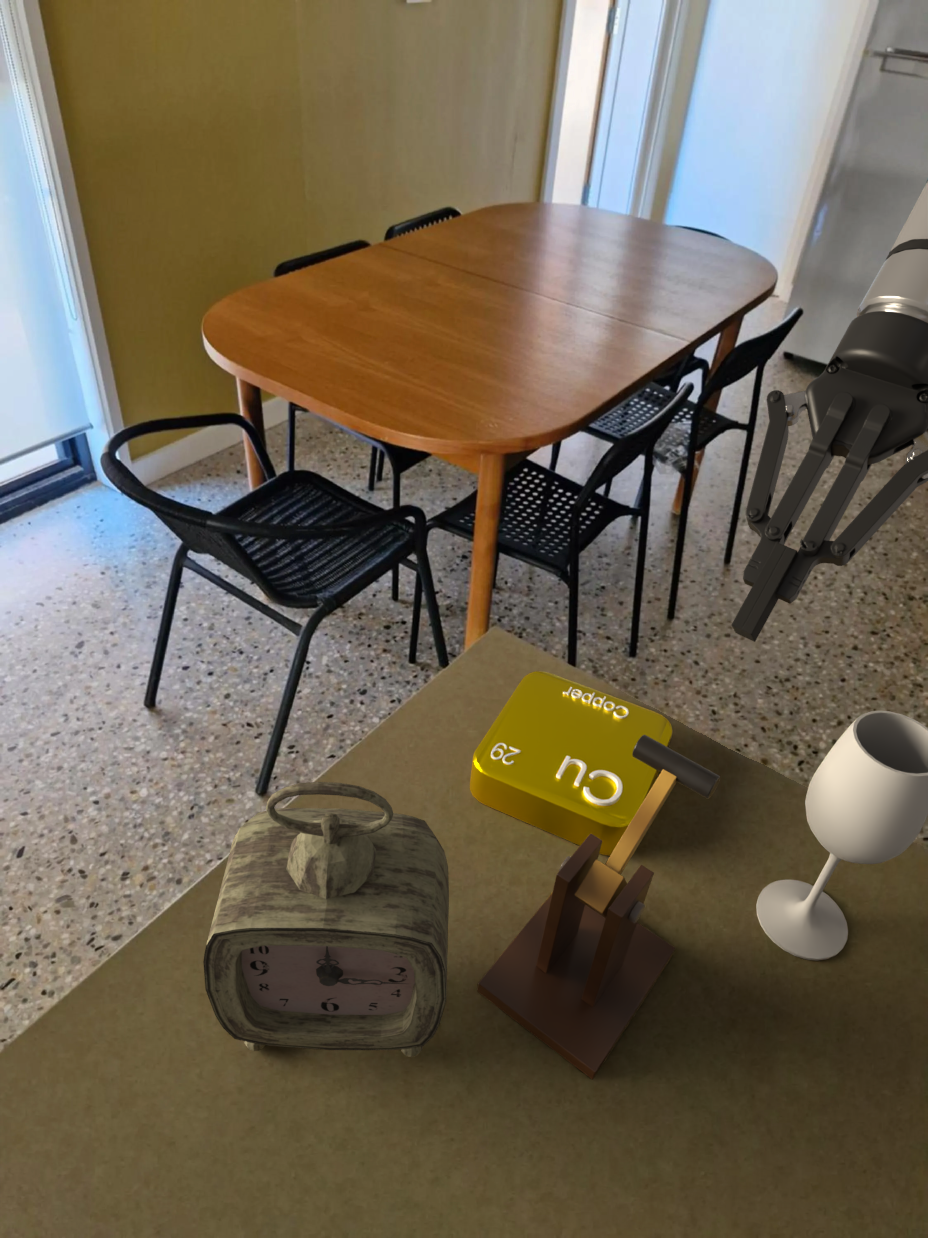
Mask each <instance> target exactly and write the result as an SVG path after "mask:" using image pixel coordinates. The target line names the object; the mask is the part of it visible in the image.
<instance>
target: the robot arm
mask: <svg viewBox="0 0 928 1238" xmlns="http://www.w3.org/2000/svg"><path fill="white" fill-rule="evenodd" d="M766 406H767V414H768V425H767V429H766V432H765V436H764V440H763V444H762V448H761V450H760V451H761V452H760V455H759V459H758V462H757V467H756V471H755V474H754V478H753V481H752V484H751V485H752V486H751V488H750V493H749V496H748V500H747V505H746V509H745V514H744V516H745V518H746V522H747V525H748V528H749V529H750V530H751V531H752V532H755V534H757V535H758V536H759V538H760V540H759V542H758V544H757V546H756V548H755V549H754V551H753V553H752V555H751V557H750V559H749V561H748V562H747V565H746V566H745V568H744V570H743V572H742V573H743V574H742V580H743V583H744V584H745V585H747V586H749V587H751V588H750V590H749V592H748V594H747V596H746V597H745V599H744V600H743V603H742V605H741V606H740V608H739V610H738V611H737V614H736V616H735V617H734V619H733V621H732V623H731V627H732V629H733V631H734V632H735V634H737V635H739V636H741V637H743V638H746V639H747V640H750V641H751V642H754V643H755V642H756V641H757V639H758V637H759V636H760V634H761V632H762V630H763V628H764V626H765V624H766V623H767V621H768V620H769V617H770V615H771V614H772V612H773V611H774V608H775V606H776V605H777V603H778V601H779V600H780V601H783V602H785V603H787V604H792V603H793V602H794V601H795V600H797V598H798V597H799V595H800V593H801V592H802V589H803V588H804V586H805V584H806V582H807V581H808V578H809V577H810V575H811V574H812V572H813V569H814V568H815V567H816V566H817V565H820V564H821V565H822V564H831V565H832V564H833V565H835V566H837V567H843V566H846V565H847V564H848V563H849V562H850V561H851V560H852V559H854V557H855V556H856V554H857V553H859V551H860V550H861V549H862V548H863V547H864V546H865V545H866V544H867V543H868V542H869V540H870V539H871V538H872V537H873V536H874V535H875V534H876V533H877V532H878V531H879V529H881V527H882V526H883V525H884V524H885V523H886V522H887V521H888V519H890V517H891V516H893V514H894V513H895V512H896V511H897V509H899V508H900V507H901V506H902V504H904V502H905V501H906V500H907V499H908V498H909V497H910V495H911V494H913V493H914V491H916V489H917V488H918V487H920V486H922V485H924V484H925V483H927V482H928V178H927V179H926V182H925V185H924V187H923V189H922V190H921V192H920V195H919V196H918V198H917V199H916V202H915V204H914V205H913V208H912V210H911V212H910V213H909V215H908V217H907V219H906V221H905V222H904V224H903V226H902V228H901V230H900V232H899V234H898V236H897V238H896V239H895V242H894V243H893V245H892V246H891V249H890V251H889V253H888V255H887V256H886V258H885V260H884V261H883V264H882V266H881V267H880V269H879V271H878V272H877V274H876V276H875V278H874V279H873V281H872V283H871V284H870V287H869V288H868V290H867V292H866V293H865V295H864V297H863V299H862V301H861V302H860V304H859V306H858V307H857V311H856V317H855V318H854V319H853V320H851V322H850V323H849V325H848V326H847V328H846V330H845V332H844V334H843V336H842V337H841V339H840V341H839V343H838V345H837V346H836V348H835V350H834V352H833V354H832V356H831V357H830V359H829V361H828V363H827V364H826V367H825V368H824V370H823V371H822V372H821V374H820V375H819V376H817V377H816V378H815V379H813V380H811V382H809V383H808V385H807V386H806V388H805V390H802V391H797V392H792V393H786V394H784V392H782V390H778V389H774V390H771V391H770V392H769V393H768V394H767V396H766ZM805 410H806V411H807V417H808V422H809V427H810V431H811V437H812V439H811V441H810V444H809V447H808V450H807V452H806V454H805V455H804V457H803V459H802V461H801V463H800V464H799V466H798V468H797V470H796V472H795V474H794V475H793V477H792V479H791V480H790V483H789V485H788V486H787V488H786V490H785V492H784V493H783V496H782V497H781V499H780V501H779V502H778V505H777V507H776V508H775V510H774V512H773V514H772V515H771V517H770V516H769V514H770V510H771V507H772V502H773V499H774V494H775V491H776V487H777V483H778V480H779V475H780V472H781V468H782V464H783V460H784V456H785V453H786V448H787V445H788V440H789V434H790V433H789V432H790V431H789V427H793V426H795V425H796V424H797V423H798V422H799V420H800V415H801V413H802V412H803V411H805ZM909 447H912V448H911V449H910V450H909V451H908V452H907V454H906V459H905V464H903V465H902V466H901V467H900V468H899V469H898V471H897V472H895V474H894V475H893V476H892V477H891V478H890V479H889V480H888V481H887V483H886V484H885V485H883V487H882V488H881V489H880V490H879V491H878V492H877V493H876V495H874V497H873V498H872V499H871V500H870V501H869V502H868V504H866V505H865V507H864V508H862V509H861V511H860V512H859V513H858V514H857V515H856V517H854V519H853V520H851V522H850V523H849V524H848V525H847V526H846V527H845V529H844V530H843V531H842V532H841V533H840V534H839V535H838V536H837V537H836V539H834V540H831V539H832V537H833V535H834V533H835V531H836V530H837V528H838V526H839V524H840V522H841V520H842V518H843V517H844V514H845V513H846V511H847V509H848V508H849V505H850V503H851V501H852V500H853V498H854V496H855V494H856V492H857V491H858V489H859V487H860V485H861V483H862V482H863V481H864V480H865V478H866V476H867V474H868V472H869V471H870V469H871V467H872V465H875V464H878V463H880V462H883V461H884V460H887V459H888V458H890V457H892V456H894V455H895V454H897V453H901V452H902V451H903V450H905V449H907V448H909ZM834 457H842V458H844V459H845V460H844V463H843V465H842V467H841V468H840V470H839V473H837V476H836V478H835V480H834V481H833V484H832V485H831V487H830V488H829V490H828V492H827V495H826V496H825V498H824V500H823V502H822V504H821V506H820V507H819V509H818V511H817V513H816V515H815V516H814V518H813V520H812V522H811V524H810V525H809V527H808V530H807V531H806V533H805V535H804V537H803V539H802V538H801V539H800V541H799V544H800V547H799V549H798V550H797V549H794V548H792V547H790V546H787V545H785V544H786V542H787V540H788V538H789V537H790V535H791V533H792V531H793V530H794V528H795V526H796V524H797V522H798V520H799V519H800V517H801V515H802V513H803V511H804V509H805V508H806V506H807V504H808V502H809V501H810V499H811V496H812V495H813V493H814V491H815V489H816V487H817V486H818V484H819V483H820V480H821V478H822V477H823V475H824V473H825V471H826V470H827V469H828V468H829V467H830V465H831V463H832V462H833V460H834Z"/></svg>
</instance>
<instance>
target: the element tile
mask: <svg viewBox="0 0 928 1238" xmlns="http://www.w3.org/2000/svg"><path fill="white" fill-rule="evenodd" d="M643 735H646V736H648V737H650V738H652V739H654V740H656V741H657V742H659V743H661V744H663V745H665V746H666V747H668V748H669V746H670V743H671V739H672V735H673V727H672V724H671V722H670V721H669V719H668V718H666V717H665V716H664V715H662V714H661V713H658V712H657V711H654V710H651V709H650V708H649V709H648V708H646V707H643V706H640V705H638V704H635V703H633V702H630V701H627V700H626V699H625V700H624V699H622V698H620V697H616V696H614V695H611V694H608V693H606V692H603V691H600V690H597V689H595V688H592V687H589V686H587V685H584V684H582V683H579V682H576V681H573V680H570V679H568V678H565V677H562V676H560V675H557V674H554V673H553V672H547V671H543V670H542V671H539V670H535V671H531V672H529V673H527V674H526V675H524V676H523V678H522V679H521V681H520V682H519V683H518V685H517V686H516V688H515V689H514V691H513V692H512V694H511V696H510V697H509V698H508V700H507V701H506V702H505V704H504V706H503V708H502V709H501V711H500V712H499V713H498V715H497V716H496V718H495V719H494V721H493V722H492V724H491V726H490V728H489V729H488V730H487V732H486V734H485V735H484V736H483V738H482V740H481V741H480V743H479V744H478V746H477V747H476V748H475V750H474V752H473V755H472V763H471V769H470V770H471V772H470V778H469V779H470V780H469V790H470V793H471V796H472V797H473V798H474V799H475V800H477V801H478V802H479V803H480V804H482V805H484V806H486V807H489V808H490V809H493V810H496V811H497V812H500V813H503V814H505V815H508V816H509V817H512V818H515V819H516V820H519V821H521V822H524V823H526V824H528V825H531V826H533V827H536V828H537V829H540V830H541V831H544V832H547V833H549V834H552V835H554V836H556V837H558V838H561V839H563V840H566V841H568V842H570V843H572V844H575V845H577V846H578V847H580V845H581V844H582V843H583V842H584V841H585V839H586V838H587V837H588V836H589V835H590V834H593V835H594V836H596V837H598V838H599V839H601V840H602V845H601V848H600V852H599V855H603V856H610V855H611V854H612V852H613V850H614V849H615V847H616V846H617V844H618V842H619V841H620V839H621V837H622V836H623V834H624V832H625V831H626V829H627V827H628V826H629V824H630V823H631V821H632V819H633V818H634V816H635V814H636V813H637V811H638V809H639V808H640V806H641V804H642V803H643V801H644V800H645V798H646V796H647V795H648V793H649V791H650V790H651V788H652V786H653V785H654V783H655V782H656V780H657V778H658V777H659V775H660V772H659V771H657V770H656V769H654V768H652V767H650V766H649V765H647V764H645V763H643V762H642V761H640V760H638V759H636V758H634V757H633V756H632V753H633V750H634V747H635V745H636V743H637V742H638V740H639V739H640V738H641V736H643Z"/></svg>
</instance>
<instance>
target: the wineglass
mask: <svg viewBox="0 0 928 1238" xmlns="http://www.w3.org/2000/svg"><path fill="white" fill-rule="evenodd" d="M804 805H805V814H806V821H807V824H808V827H809V828H810V830H811V832H812V834H813V835H814V837H815V838H816V840H817V841H818V842H819V844H820V845H821V846H822V847H823V848H824V849H825V850H826V851H827V852H828V853H829V856H828V859H827V861H826V862H825V865H824V866H823V868H822V870H821V872H820V873H819V875H818V877H817V879H816V881H815V883H814V885H812V884H810V883H808V882H805V881H802V880H798V879H779V880H776V881H773V882H769V884H767V885H766V886H765V887H763V888H762V890H761V891H760V893H759V895H758V897H757V901H756V906H755V907H756V909H755V910H756V917H757V920H758V923H759V925H760V926H761V929H762V931H764V934H766V936H767V937H768V938H769V939H770V940H771V941H772V942H773V943H774V944H775V945H776V946H777V947H779V948H780V949H781V950H783V951H784V952H786V953H788V954H789V955H792V956H794V957H797V958H800V959H802V960H803V959H804V960H807V961H825V960H829V959H831V958H834V957H835V956H837V955H838V954H839V953H840V952H841V951H842V950H843V949H844V947H845V945H846V943H847V941H848V935H849V928H848V923H847V922H848V921H847V920H846V917H845V915H844V913H843V910H841V908H840V907H839V905H838V904H837V903H836V902H835V900H833V898H831V896H829V894H827V893H825V891H824V889H825V887H826V886H827V884H828V883H829V881H830V879H831V877H832V875H833V873H834V871H835V870H836V868H837V866H838V865H839V863H840V862H841V861H842V860H843V861H845V862H847V863H851V864H857V865H859V864H861V865H875V864H883V863H886V862H888V861H890V860H892V859H894V858H896V857H898V856H900V855H902V854H903V853H904V852H905V851H906V850H907V849H909V847H910V846H911V845H912V844H913V843H914V842H915V840H916V838H917V837H918V836H919V834H920V833H921V831H922V830H923V826H924V825H925V823H926V820H927V818H928V727H927V726H925V725H924V724H923V723H921V722H920V721H918V720H917V719H914V718H912V717H909V716H907V715H905V714H903V713H899V712H895V711H890V710H880V709H879V710H870V711H868V712H867V711H866V712H865V713H862V714H861V715H859V716H858V717H856V718H855V720H854V721H852V723H851V724H849V726H848V727H847V728H846V730H845V731H844V732H843V733H842V734H841V735H840V737H839V738H838V739H837V740H836V741H835V743H834V744H833V746H832V747H831V749H830V750H829V751H828V752H827V754H826V756H825V757H824V758H823V760H822V761H821V763H820V764H819V766H818V767H817V769H816V771H815V772H814V773H813V775H812V777H811V780H810V782H809V785H808V787H807V792H806V796H805V801H804Z"/></svg>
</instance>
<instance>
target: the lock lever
mask: <svg viewBox="0 0 928 1238" xmlns="http://www.w3.org/2000/svg"><path fill="white" fill-rule="evenodd" d="M632 756H633V757H634V758H636V759H638V760H640V761H642V762H643V763H645V764H647V765H649V766H650V767H652V768H654V769H656V770H657V771H659V774H658V776H657V778H656V781H655V783H654V785H653V786H652V788H651V790H650V791H649V793H648V795H647V796H646V798H645V800H644V801H643V803H642V804H641V806H640V808H639V809H638V811H637V813H636V814H635V816H634V818H633V819H632V821H631V823H630V824H629V826H628V827H627V829H626V831H625V832H624V834H623V836H622V837H621V839H620V841H619V842H618V844H617V846H616V847H615V849H614V850H613V852H612V854H611V855H609V857H608V859H607V861H606V862H605V863H603V862H602V861H600V860H599V859H596V860H595V862H594V863H593V865H592V867H591V868H590V870H589V872H588V873H587V875H586V876H585V878H584V880H583V881H582V883H581V885H580V886H579V888H578V890H577V891H576V893H575V896H576V897H577V899H578V900H579V901H580V902H582V903H583V904H585V905H586V906H588V907H589V908H591V909H592V910H594V911H595V912H597V913H598V914H600V915H601V916H603V917H604V918H606V916H607V912H608V909H609V907H610V906H611V905H612V903H613V902H614V901H615V899H616V898H617V897H618V895H619V894H620V893H621V891H622V890H623V889H624V887H625V886H626V885H627V883H628V882H627V880H626V878H625V876H624V875H622V873H623V872H624V870H625V869H626V867H627V866H628V863H629V862H630V860H631V858H632V857H633V856H634V854H635V852H636V850H637V848H639V845H640V843H642V841H643V839H644V837H645V836H646V834H647V832H648V830H649V829H650V827H651V825H652V824H653V822H654V821H655V819H656V817H657V815H658V814H659V812H660V810H661V809H662V807H663V805H664V804H665V802H666V800H667V799H668V798H669V796H670V794H671V792H672V791H673V789H674V787H676V784H677V783H678V784H680V785H682V786H684V787H686V788H688V789H689V790H691V791H693V792H694V793H696V794H698V795H700V796H701V797H703V798H705V799H707V800H709V799H710V798H711V797H713V794H714V793H715V791H716V790H717V787H718V785H719V783H720V781H721V775H719V774H717V773H716V772H714V771H712V770H710V769H709V768H706V767H705V766H703V765H701V764H700V763H697V762H695V761H693V760H692V759H691V758H689V757H687V756H684V755H683V754H680V753H679V752H677V751H676V750H674V749H672V748H670V747H669V746H668V747H666V746H665V745H663V744H661V743H659V742H657V741H656V740H654V739H652V738H650V737H648V736H646V735H643V736H641V738H640V739H639V740H638V742H637V743H636V745H635V747H634V750H633V753H632Z"/></svg>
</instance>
